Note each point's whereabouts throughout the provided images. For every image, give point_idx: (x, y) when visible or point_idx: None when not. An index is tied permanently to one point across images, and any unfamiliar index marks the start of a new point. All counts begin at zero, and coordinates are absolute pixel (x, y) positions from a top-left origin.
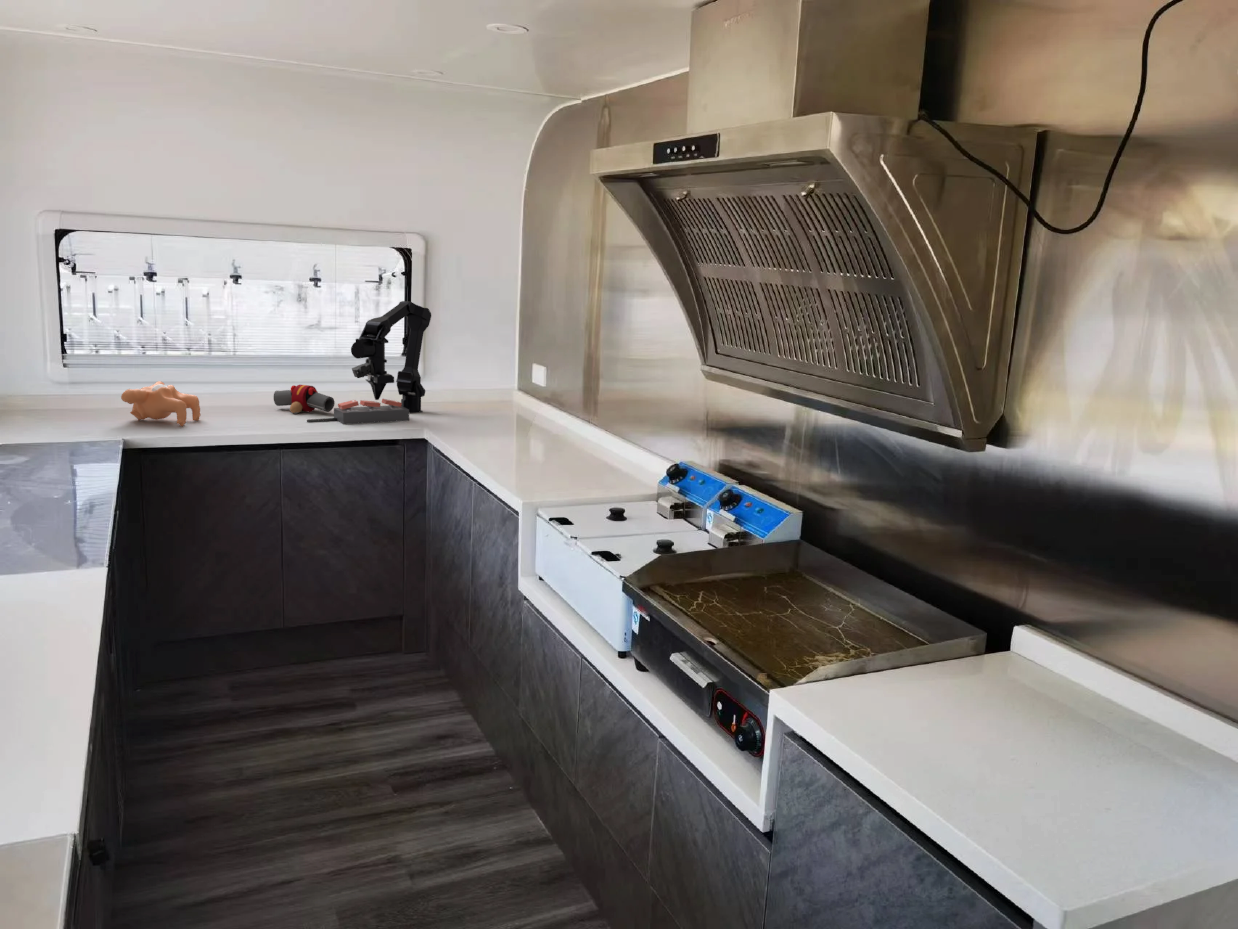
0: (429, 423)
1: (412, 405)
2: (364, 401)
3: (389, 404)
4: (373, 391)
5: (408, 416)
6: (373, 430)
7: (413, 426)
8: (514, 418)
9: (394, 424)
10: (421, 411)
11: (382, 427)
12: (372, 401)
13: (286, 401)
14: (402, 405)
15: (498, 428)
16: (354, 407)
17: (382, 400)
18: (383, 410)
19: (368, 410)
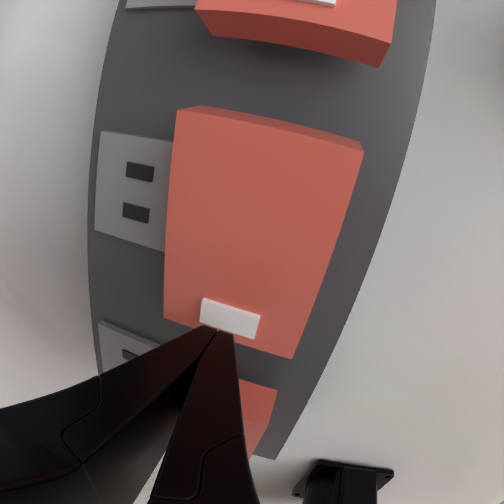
0: (63, 360)
1: (308, 502)
2: (235, 146)
3: None
4: (191, 403)
5: None
6: (3, 51)
7: (18, 266)
8: None
9: (63, 222)
10: (292, 491)
11: (25, 117)
12: (279, 304)
13: None
14: (358, 489)
15: (8, 404)
16: (393, 89)
17: (255, 405)
18: (99, 248)
19: (142, 121)
